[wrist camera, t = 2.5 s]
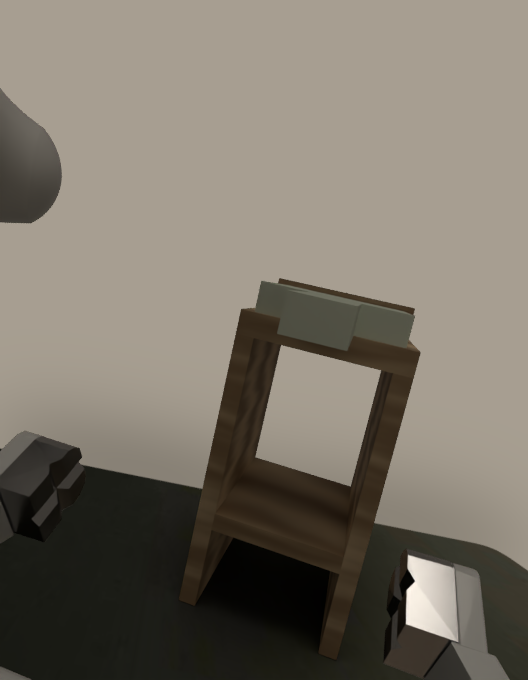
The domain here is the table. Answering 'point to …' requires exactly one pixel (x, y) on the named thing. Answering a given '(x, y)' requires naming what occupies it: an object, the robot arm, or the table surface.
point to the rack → (292, 485)
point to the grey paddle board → (331, 317)
